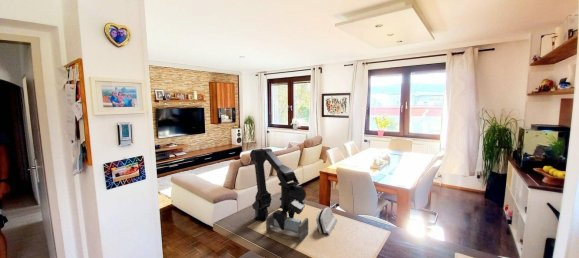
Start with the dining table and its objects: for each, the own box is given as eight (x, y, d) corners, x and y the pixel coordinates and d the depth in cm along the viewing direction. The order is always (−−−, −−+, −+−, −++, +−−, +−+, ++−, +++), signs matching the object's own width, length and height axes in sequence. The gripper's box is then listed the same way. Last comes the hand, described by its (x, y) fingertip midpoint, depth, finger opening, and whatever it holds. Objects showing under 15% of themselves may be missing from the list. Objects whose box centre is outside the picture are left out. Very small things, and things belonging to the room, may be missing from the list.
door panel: (274, 229, 124) (274, 216, 123) (276, 227, 126) (276, 214, 125) (299, 236, 117) (299, 222, 116) (301, 233, 119) (301, 220, 118)
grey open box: (266, 232, 122) (266, 217, 121) (275, 225, 130) (275, 210, 129) (300, 242, 113) (300, 226, 112) (308, 233, 121) (308, 218, 120)
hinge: (329, 235, 119) (322, 216, 120) (320, 236, 121) (314, 217, 122) (337, 220, 134) (331, 203, 135) (329, 221, 136) (324, 204, 137)
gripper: (293, 205, 108) (293, 239, 109) (309, 192, 124) (309, 221, 126) (271, 201, 113) (272, 233, 114) (290, 188, 129) (290, 216, 131)
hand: (287, 225), depth 121 cm, fingers open, 9 cm apart
